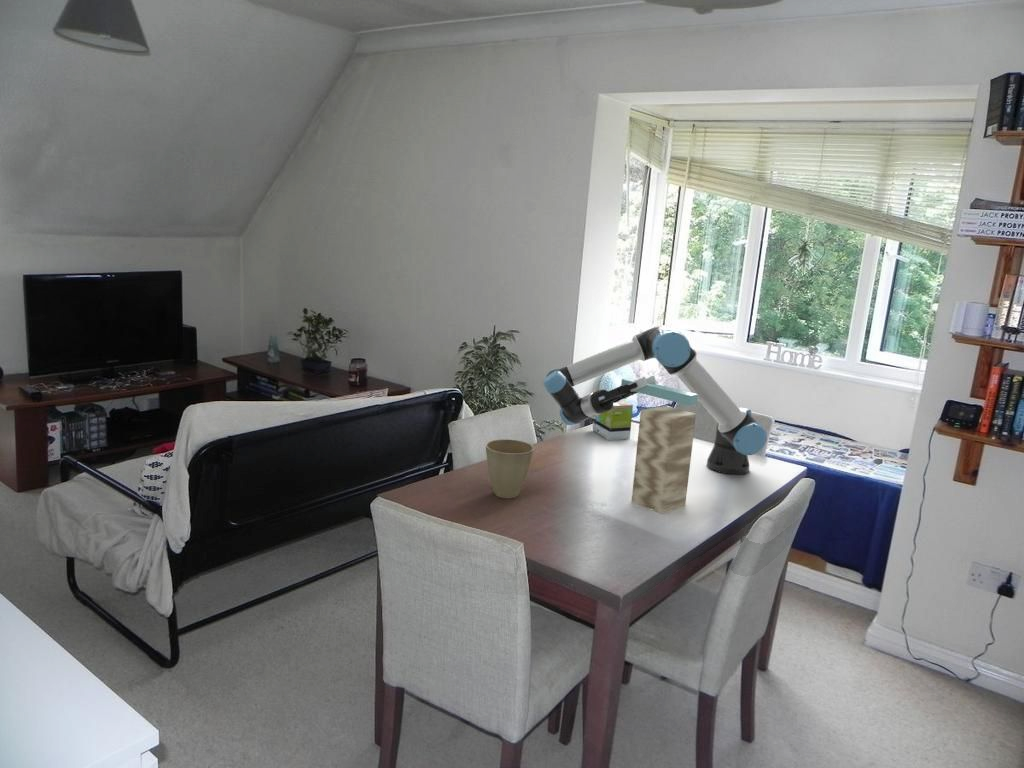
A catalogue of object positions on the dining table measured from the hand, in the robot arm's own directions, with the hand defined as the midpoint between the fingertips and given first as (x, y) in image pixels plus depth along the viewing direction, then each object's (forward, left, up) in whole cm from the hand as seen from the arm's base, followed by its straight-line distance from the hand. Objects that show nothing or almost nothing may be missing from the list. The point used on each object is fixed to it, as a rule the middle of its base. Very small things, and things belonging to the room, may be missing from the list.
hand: (650, 380), depth 245 cm
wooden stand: (-6, +6, -38) cm, 39 cm away
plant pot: (+42, +7, -39) cm, 58 cm away
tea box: (+2, -73, -39) cm, 83 cm away
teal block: (-2, +2, -4) cm, 5 cm away
